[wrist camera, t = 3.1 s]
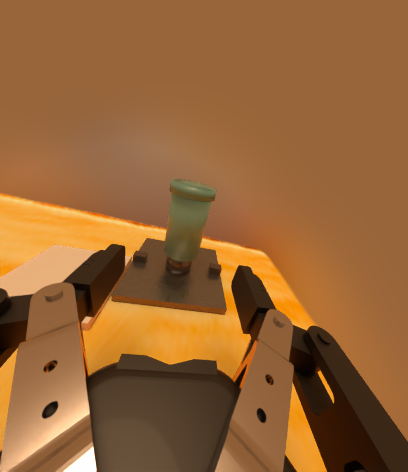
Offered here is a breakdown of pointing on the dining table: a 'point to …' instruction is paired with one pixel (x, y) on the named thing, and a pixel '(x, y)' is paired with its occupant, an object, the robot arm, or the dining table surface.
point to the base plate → (172, 280)
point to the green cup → (187, 218)
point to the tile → (50, 273)
